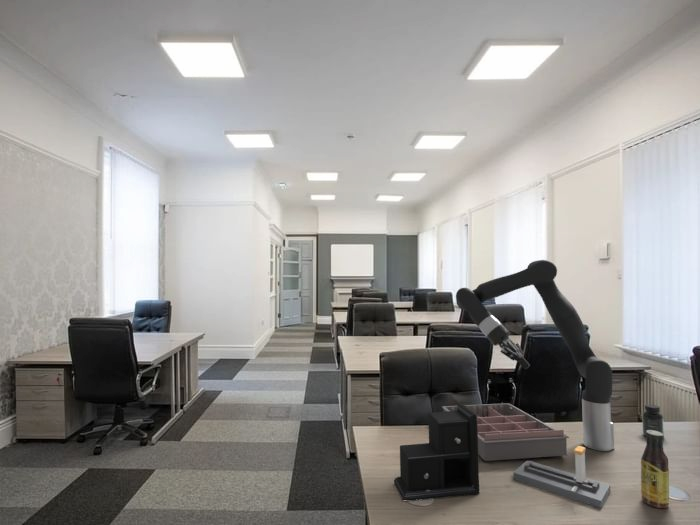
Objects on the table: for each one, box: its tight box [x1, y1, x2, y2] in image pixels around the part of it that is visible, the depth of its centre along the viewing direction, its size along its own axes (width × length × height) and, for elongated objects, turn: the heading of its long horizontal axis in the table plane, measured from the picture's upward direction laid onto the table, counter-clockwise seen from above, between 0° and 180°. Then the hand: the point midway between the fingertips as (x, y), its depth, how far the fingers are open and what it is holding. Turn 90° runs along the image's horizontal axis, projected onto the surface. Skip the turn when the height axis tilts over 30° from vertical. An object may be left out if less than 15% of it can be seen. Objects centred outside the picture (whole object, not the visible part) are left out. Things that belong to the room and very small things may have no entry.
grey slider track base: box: [513, 460, 612, 509], centre depth 122 cm, size 24×12×4 cm, turn 46°
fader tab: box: [573, 445, 588, 485], centre depth 119 cm, size 4×4×10 cm
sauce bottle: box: [640, 430, 670, 509], centre depth 112 cm, size 7×6×20 cm
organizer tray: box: [441, 403, 570, 462], centre depth 157 cm, size 32×40×10 cm
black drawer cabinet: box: [393, 403, 480, 501], centre depth 121 cm, size 23×11×24 cm, turn 98°
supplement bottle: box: [641, 404, 665, 437], centre depth 161 cm, size 7×7×12 cm
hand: (527, 367), depth 142 cm, fingers closed
